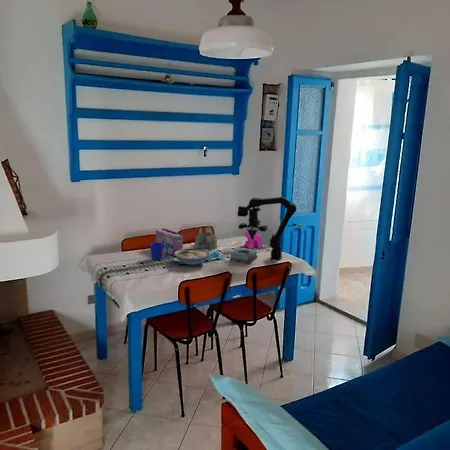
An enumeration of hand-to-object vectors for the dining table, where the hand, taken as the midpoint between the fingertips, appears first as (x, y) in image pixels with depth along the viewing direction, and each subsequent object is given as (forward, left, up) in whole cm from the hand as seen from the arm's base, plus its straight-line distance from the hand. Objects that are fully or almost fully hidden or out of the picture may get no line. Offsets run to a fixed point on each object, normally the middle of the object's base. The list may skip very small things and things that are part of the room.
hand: (252, 239), depth 302 cm
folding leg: (+3, +14, -10) cm, 17 cm away
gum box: (+57, +12, -12) cm, 60 cm away
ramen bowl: (+30, +30, -12) cm, 44 cm away
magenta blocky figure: (+7, -25, -12) cm, 28 cm away
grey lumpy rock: (+39, -9, -12) cm, 42 cm away
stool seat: (+3, +8, -12) cm, 15 cm away
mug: (+54, +31, -12) cm, 63 cm away
